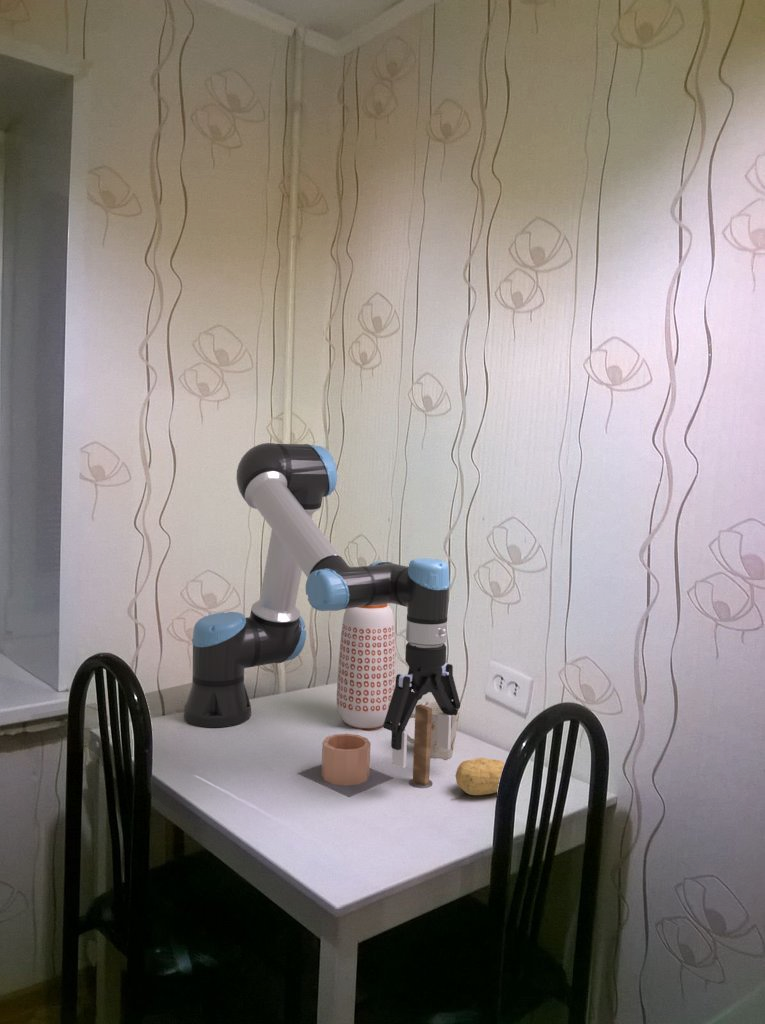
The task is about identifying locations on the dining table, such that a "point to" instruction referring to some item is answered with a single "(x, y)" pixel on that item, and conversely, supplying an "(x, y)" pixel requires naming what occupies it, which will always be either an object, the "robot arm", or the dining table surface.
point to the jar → (345, 759)
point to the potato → (479, 775)
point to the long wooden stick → (422, 747)
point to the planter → (366, 666)
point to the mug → (436, 750)
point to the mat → (350, 790)
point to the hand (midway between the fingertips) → (421, 756)
